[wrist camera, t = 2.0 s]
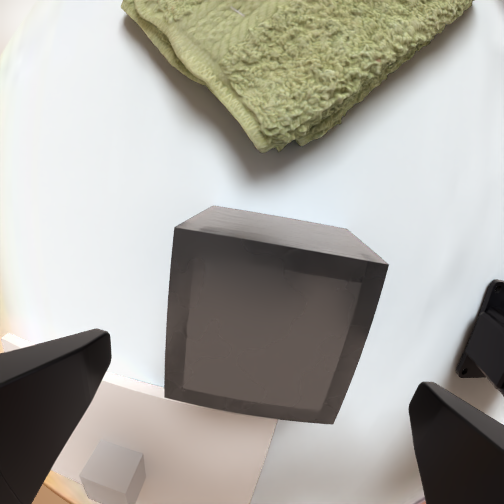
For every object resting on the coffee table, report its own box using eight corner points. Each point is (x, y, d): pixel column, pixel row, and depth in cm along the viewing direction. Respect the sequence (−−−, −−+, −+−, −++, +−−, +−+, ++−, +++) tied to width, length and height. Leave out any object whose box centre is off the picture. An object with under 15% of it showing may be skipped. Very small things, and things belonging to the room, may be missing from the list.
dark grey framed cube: (347, 229, 15) (388, 264, 9) (317, 346, 16) (333, 424, 11) (213, 205, 15) (174, 227, 9) (198, 326, 17) (164, 397, 11)
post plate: (277, 409, 18) (276, 472, 13) (241, 520, 22) (235, 562, 17) (8, 332, 18) (-33, 362, 13) (49, 460, 22) (28, 491, 17)
